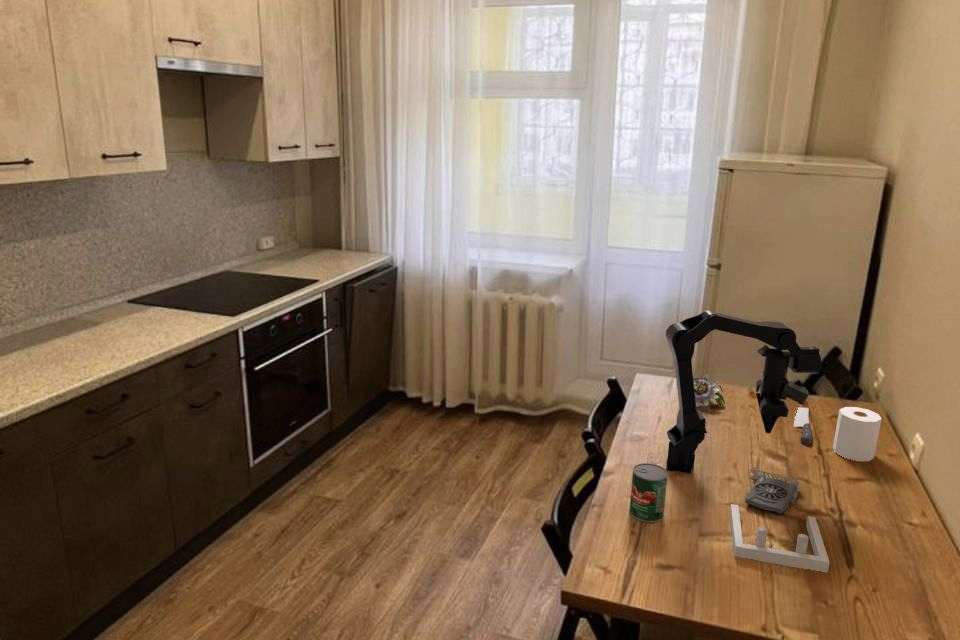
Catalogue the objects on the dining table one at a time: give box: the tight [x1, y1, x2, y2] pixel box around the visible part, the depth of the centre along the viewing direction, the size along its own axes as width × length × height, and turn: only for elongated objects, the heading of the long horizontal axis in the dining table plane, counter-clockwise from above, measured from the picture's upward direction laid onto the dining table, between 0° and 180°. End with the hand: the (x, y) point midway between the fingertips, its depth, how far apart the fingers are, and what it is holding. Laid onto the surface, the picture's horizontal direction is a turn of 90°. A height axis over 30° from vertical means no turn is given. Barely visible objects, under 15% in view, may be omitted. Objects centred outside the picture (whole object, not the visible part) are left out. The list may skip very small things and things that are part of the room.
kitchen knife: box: [793, 406, 813, 446], centre depth 212 cm, size 29×3×5 cm
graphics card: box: [744, 468, 801, 514], centre depth 171 cm, size 17×4×12 cm
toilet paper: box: [832, 406, 882, 462], centre depth 193 cm, size 10×10×12 cm
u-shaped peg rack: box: [729, 503, 831, 574], centre depth 152 cm, size 18×18×6 cm
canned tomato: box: [628, 462, 669, 523], centre depth 161 cm, size 8×8×11 cm
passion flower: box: [693, 373, 726, 408], centre depth 226 cm, size 11×11×12 cm
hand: (766, 427), depth 181 cm, fingers open, 6 cm apart
